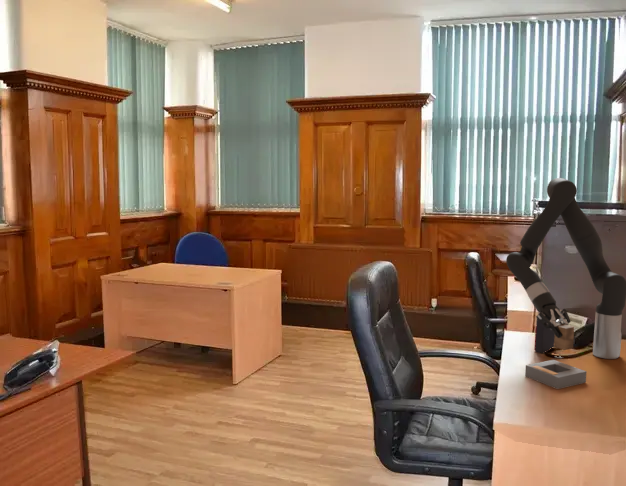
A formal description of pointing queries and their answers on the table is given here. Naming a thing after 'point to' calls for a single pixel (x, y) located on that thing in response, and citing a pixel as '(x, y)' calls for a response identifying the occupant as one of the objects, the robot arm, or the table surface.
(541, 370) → the socket block
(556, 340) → the walnut peg
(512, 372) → the table surface
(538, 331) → the black slab
